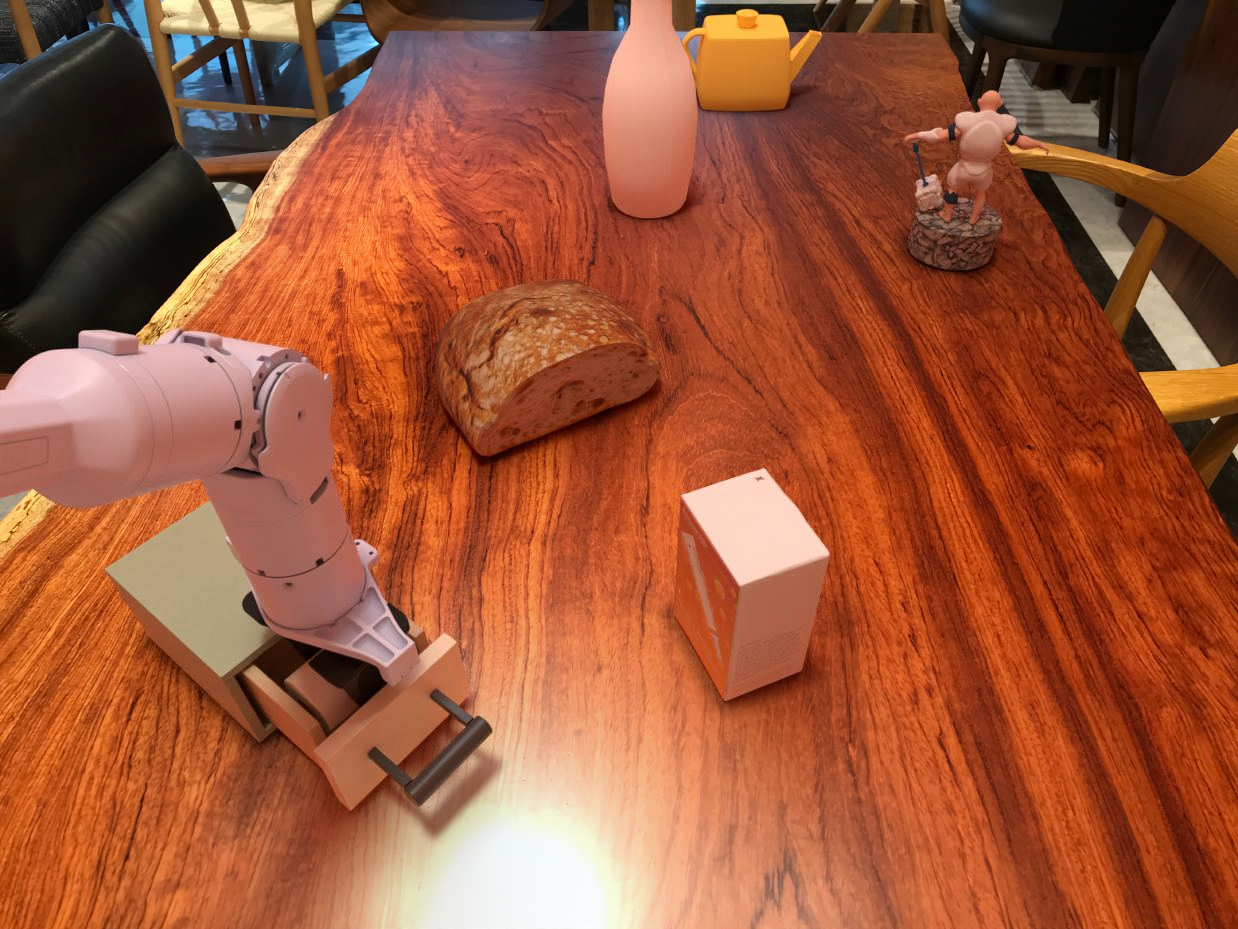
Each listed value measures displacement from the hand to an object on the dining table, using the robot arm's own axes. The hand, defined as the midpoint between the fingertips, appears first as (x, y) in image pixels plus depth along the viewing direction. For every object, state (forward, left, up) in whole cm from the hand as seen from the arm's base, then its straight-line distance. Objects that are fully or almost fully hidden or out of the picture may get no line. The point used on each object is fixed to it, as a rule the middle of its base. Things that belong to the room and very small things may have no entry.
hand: (350, 676), depth 56 cm
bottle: (+68, +28, -5) cm, 74 cm away
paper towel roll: (0, +2, +1) cm, 2 cm away
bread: (+34, +15, -5) cm, 37 cm away
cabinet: (0, +11, -5) cm, 12 cm away
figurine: (+79, -7, -5) cm, 80 cm away
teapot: (+103, +36, -5) cm, 109 cm away
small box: (+20, -16, -5) cm, 26 cm away
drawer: (0, -1, -4) cm, 4 cm away
